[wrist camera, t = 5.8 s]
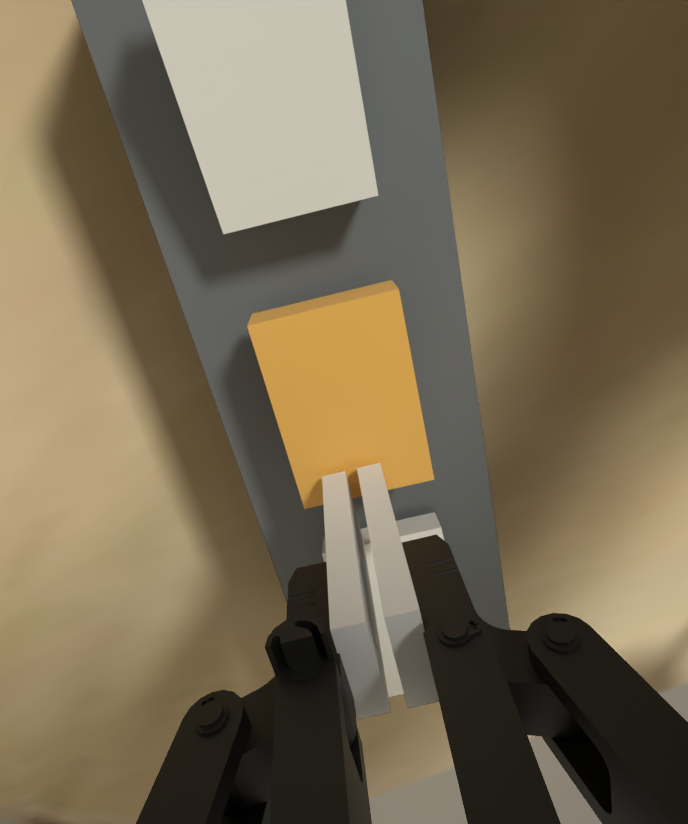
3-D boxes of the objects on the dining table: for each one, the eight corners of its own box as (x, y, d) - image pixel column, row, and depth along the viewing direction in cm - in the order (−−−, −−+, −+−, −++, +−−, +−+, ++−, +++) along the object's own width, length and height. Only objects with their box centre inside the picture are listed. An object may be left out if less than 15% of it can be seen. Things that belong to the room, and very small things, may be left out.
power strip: (18, -303, 16) (-174, -617, 10) (320, -393, 16) (326, -782, 9) (317, 604, 30) (318, 717, 24) (476, 569, 30) (520, 675, 24)
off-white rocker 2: (323, 537, 21) (321, 553, 19) (434, 512, 21) (441, 527, 19) (360, 677, 22) (361, 702, 21) (465, 655, 22) (473, 679, 21)
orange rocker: (251, 313, 17) (246, 325, 15) (392, 279, 16) (399, 289, 15) (304, 486, 19) (304, 509, 18) (426, 458, 19) (434, 479, 18)
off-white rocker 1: (132, -59, 12) (118, -67, 11) (319, -110, 12) (324, -124, 11) (227, 219, 16) (223, 234, 15) (371, 183, 16) (378, 195, 15)
